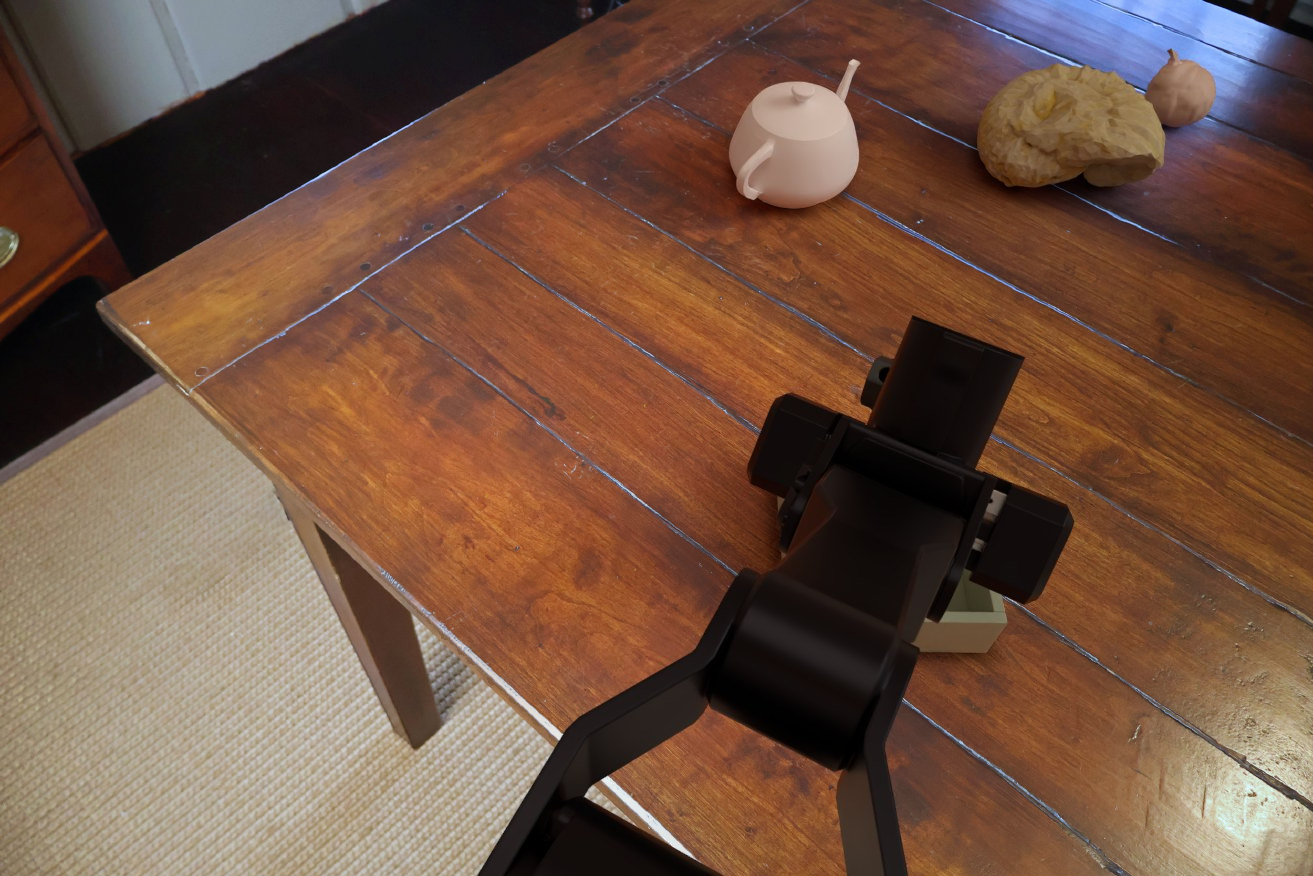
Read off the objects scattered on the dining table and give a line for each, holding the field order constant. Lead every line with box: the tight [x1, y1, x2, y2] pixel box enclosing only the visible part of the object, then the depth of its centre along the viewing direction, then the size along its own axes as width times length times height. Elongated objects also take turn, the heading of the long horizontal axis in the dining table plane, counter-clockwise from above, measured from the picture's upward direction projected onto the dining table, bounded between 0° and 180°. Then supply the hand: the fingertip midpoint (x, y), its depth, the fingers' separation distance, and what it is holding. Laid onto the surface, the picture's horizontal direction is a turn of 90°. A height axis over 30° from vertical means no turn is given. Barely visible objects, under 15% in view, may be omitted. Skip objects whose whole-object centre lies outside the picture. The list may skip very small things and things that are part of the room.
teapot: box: [728, 58, 861, 209], centre depth 91 cm, size 20×12×10 cm, turn 142°
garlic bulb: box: [1143, 47, 1217, 128], centre depth 98 cm, size 7×6×8 cm
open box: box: [776, 496, 1008, 654], centre depth 68 cm, size 16×14×5 cm
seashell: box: [976, 62, 1166, 188], centre depth 92 cm, size 17×11×15 cm
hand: (912, 476), depth 66 cm, fingers closed on pill bottle, 6 cm apart
